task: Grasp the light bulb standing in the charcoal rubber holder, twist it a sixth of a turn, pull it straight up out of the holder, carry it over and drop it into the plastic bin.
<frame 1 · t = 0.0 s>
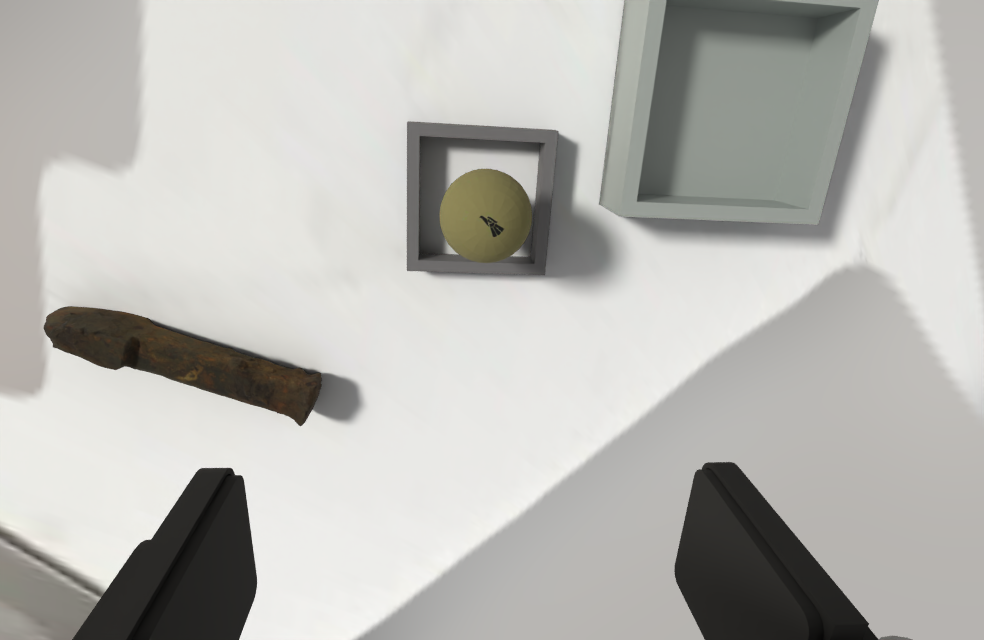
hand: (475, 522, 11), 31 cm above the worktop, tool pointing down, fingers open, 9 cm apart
bin: (707, 108, 39), on the worktop
hand tool: (200, 354, 43), on the worktop
bulb holder: (478, 198, 40), on the worktop
light bulb: (478, 198, 40), resting in bulb holder
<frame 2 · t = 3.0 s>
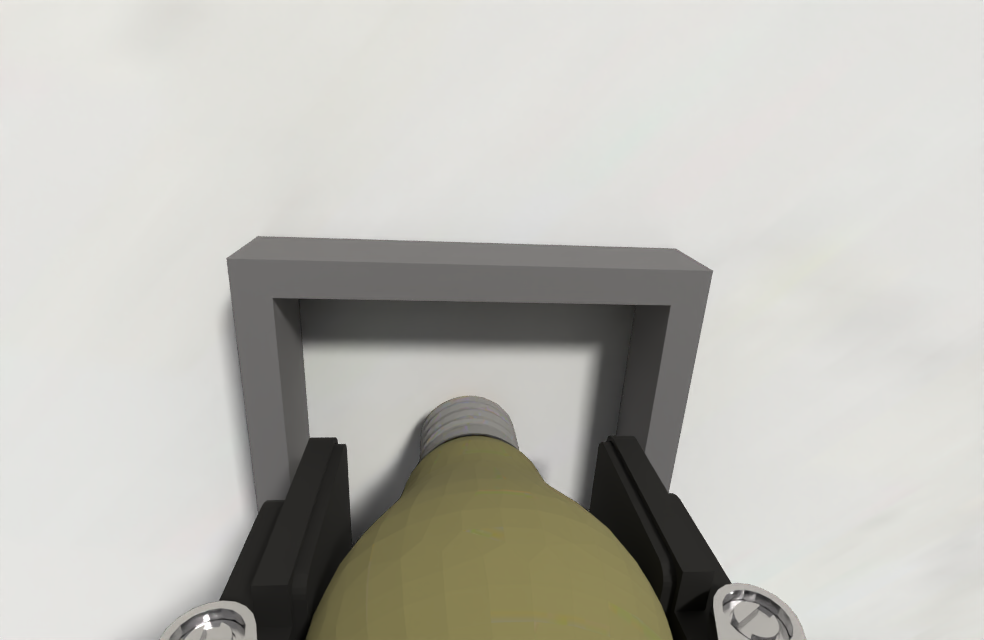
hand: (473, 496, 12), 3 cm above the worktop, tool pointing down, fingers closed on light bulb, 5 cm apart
bulb holder: (467, 423, 15), on the worktop
light bulb: (467, 419, 15), resting in bulb holder, touching gripper
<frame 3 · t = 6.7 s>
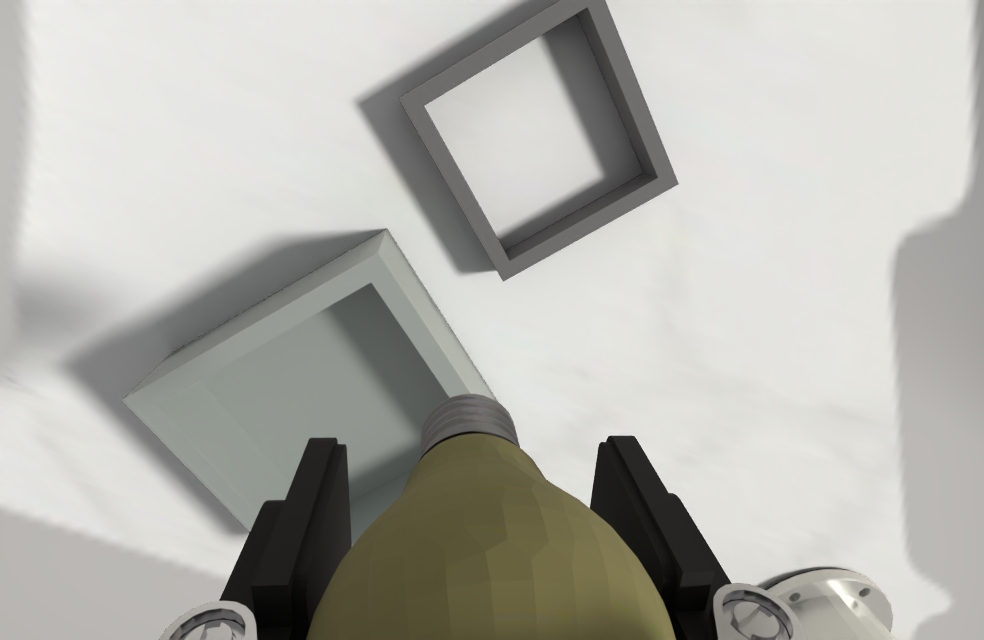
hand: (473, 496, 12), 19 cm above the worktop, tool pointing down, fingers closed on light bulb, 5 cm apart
bin: (350, 391, 32), on the worktop
bulb holder: (538, 140, 28), on the worktop
light bulb: (467, 417, 15), point 16 cm above the worktop, touching gripper
when the fingers open (6 cm above the worktop, at t = 10.2 s): light bulb drops 2 cm, resting on bin.
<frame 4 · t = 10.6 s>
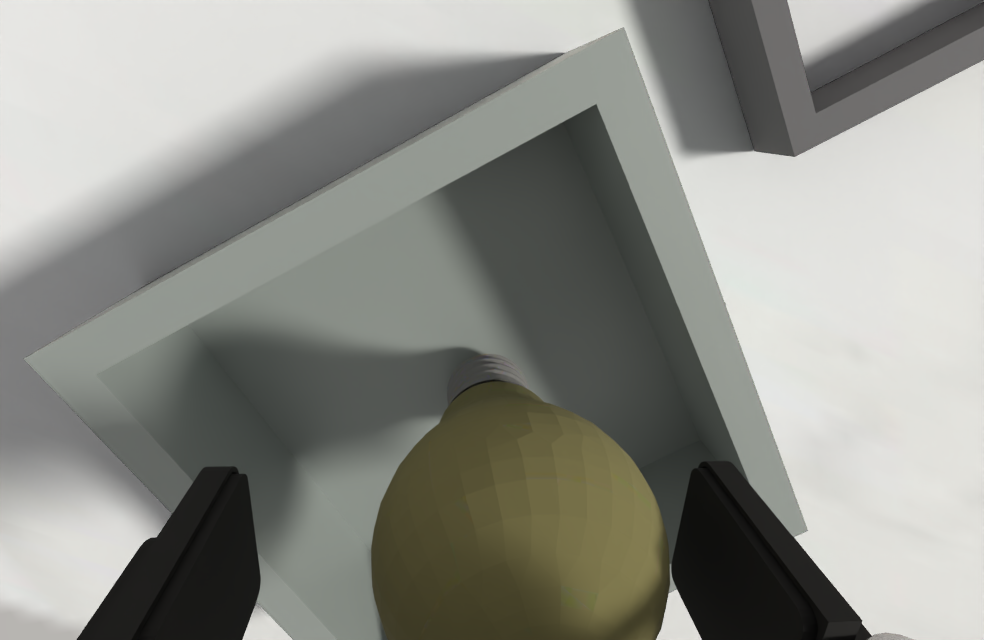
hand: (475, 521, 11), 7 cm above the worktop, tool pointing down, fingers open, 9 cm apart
bin: (462, 367, 18), on the worktop
light bulb: (485, 377, 17), point 1 cm above the worktop, touching bin
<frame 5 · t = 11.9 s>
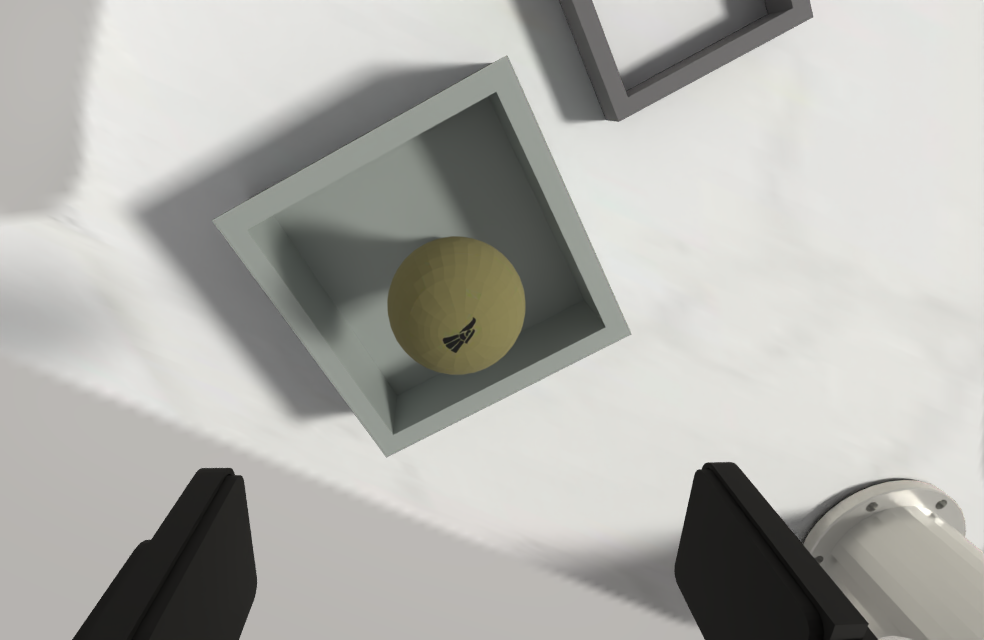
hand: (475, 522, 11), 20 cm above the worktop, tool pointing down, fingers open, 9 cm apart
bin: (437, 253, 30), on the worktop
light bulb: (450, 257, 29), point 1 cm above the worktop, touching bin
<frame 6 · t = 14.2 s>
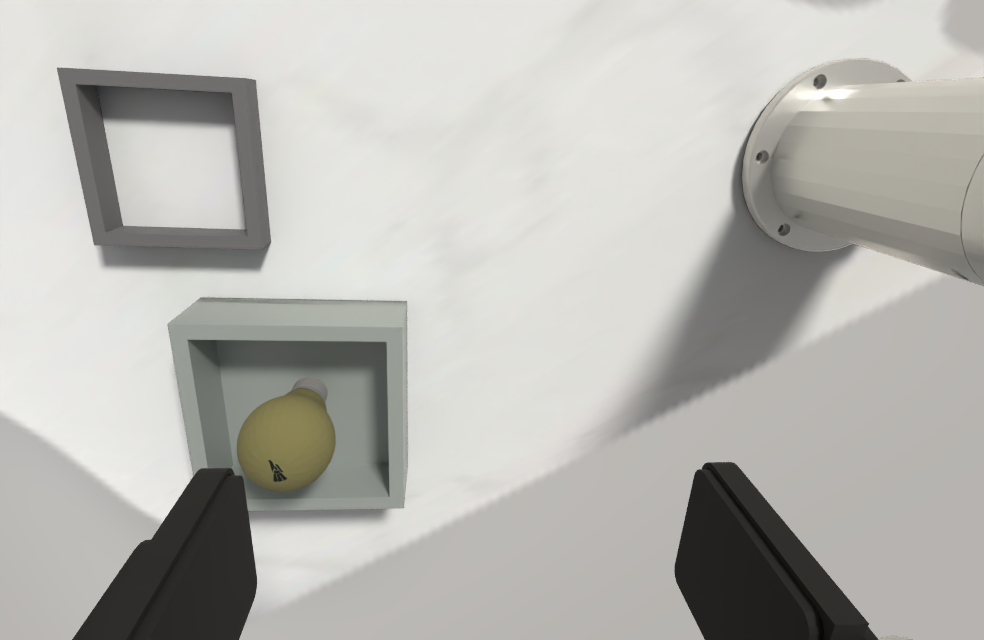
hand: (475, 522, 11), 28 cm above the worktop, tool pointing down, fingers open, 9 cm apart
bin: (312, 388, 41), on the worktop
bulb holder: (181, 161, 35), on the worktop
light bulb: (313, 386, 40), point 1 cm above the worktop, touching bin
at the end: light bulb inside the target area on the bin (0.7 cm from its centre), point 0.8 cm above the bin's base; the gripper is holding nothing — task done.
